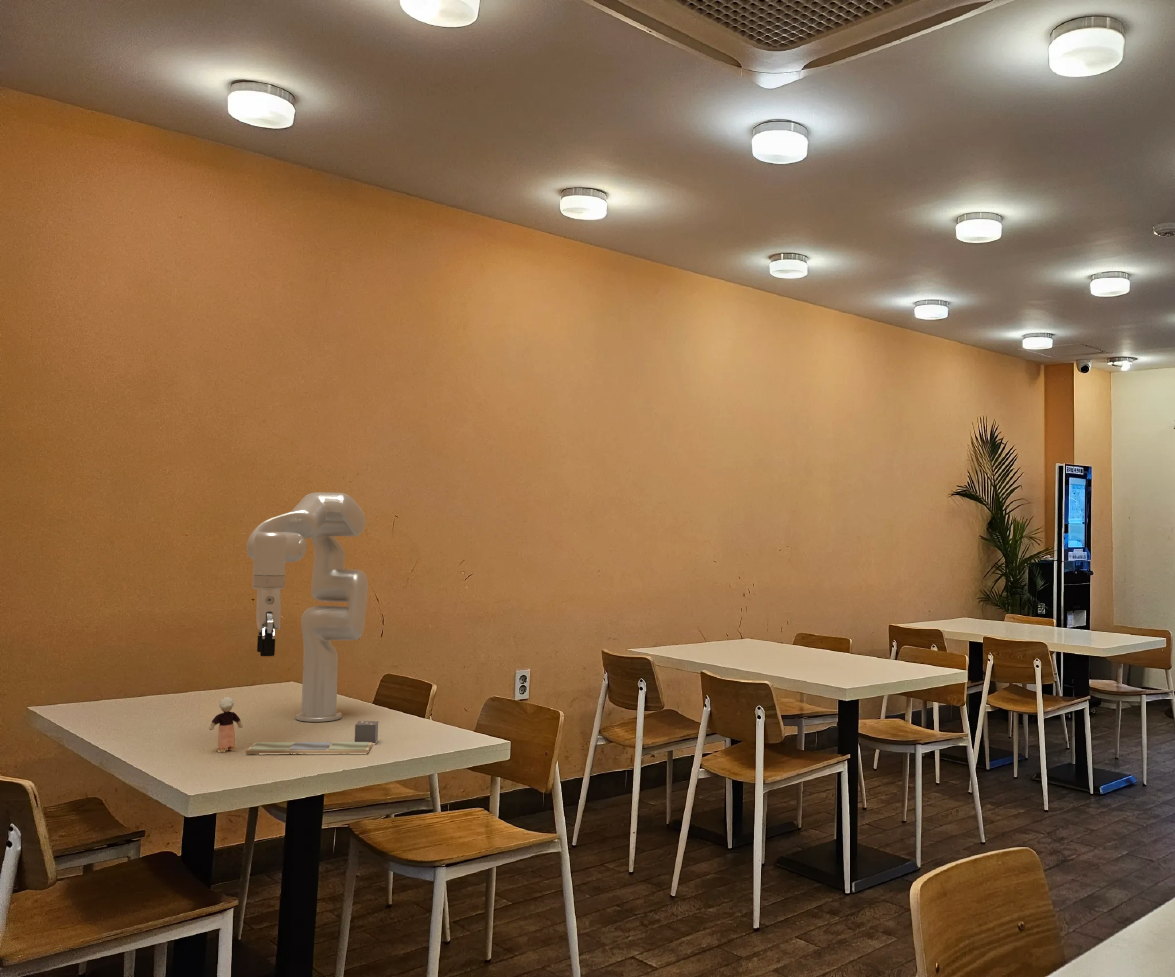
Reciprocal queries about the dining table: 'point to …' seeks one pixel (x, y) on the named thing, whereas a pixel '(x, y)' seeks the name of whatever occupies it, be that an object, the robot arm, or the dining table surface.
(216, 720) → the grandmother figurine
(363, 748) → the board
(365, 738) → the die
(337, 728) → the dining table surface
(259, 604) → the robot arm
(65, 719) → the dining table surface
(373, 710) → the dining table surface
